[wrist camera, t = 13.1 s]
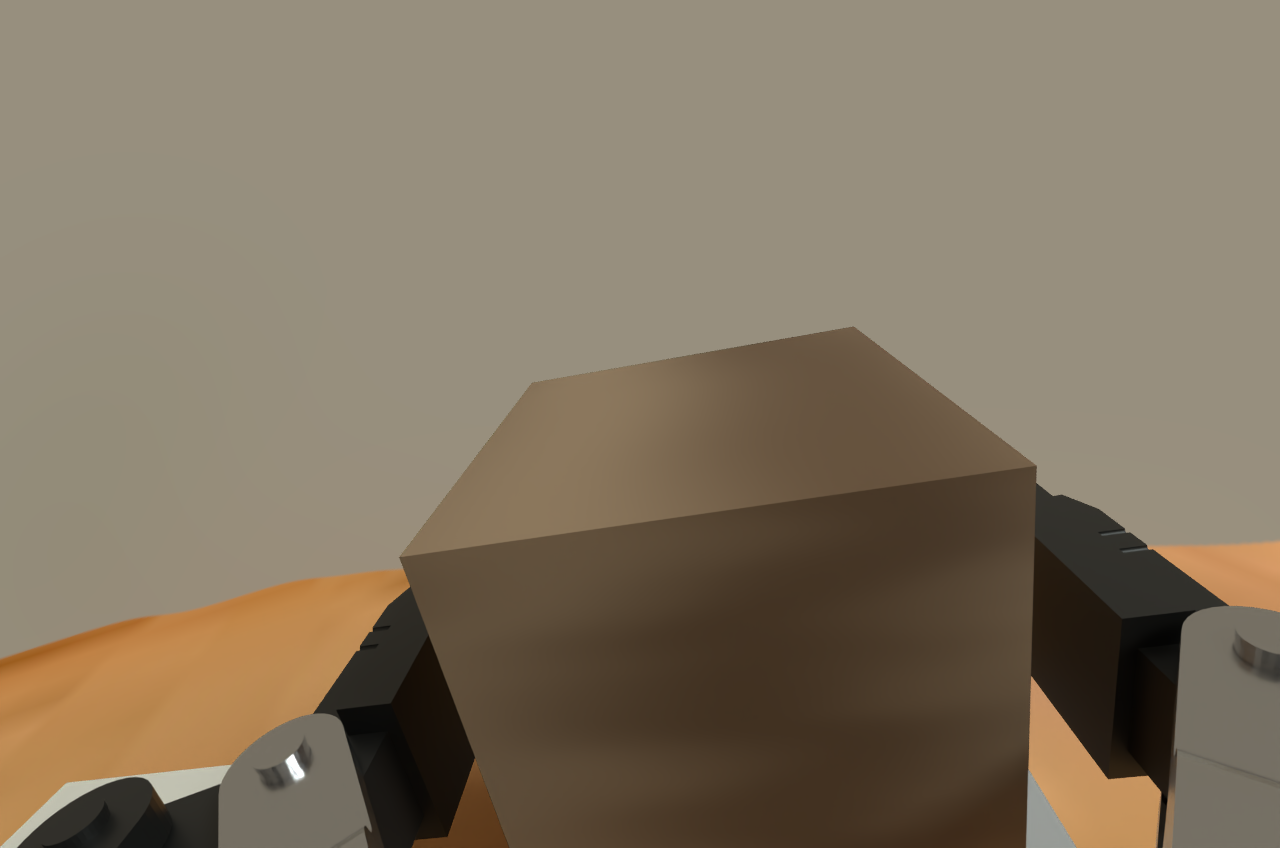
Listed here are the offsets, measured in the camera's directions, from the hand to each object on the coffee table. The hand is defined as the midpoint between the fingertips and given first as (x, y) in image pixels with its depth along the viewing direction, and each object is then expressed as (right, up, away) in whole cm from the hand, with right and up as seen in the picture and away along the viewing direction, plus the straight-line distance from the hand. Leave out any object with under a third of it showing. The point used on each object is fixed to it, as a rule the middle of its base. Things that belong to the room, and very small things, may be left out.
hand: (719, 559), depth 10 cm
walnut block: (+1, -8, +1) cm, 8 cm away
